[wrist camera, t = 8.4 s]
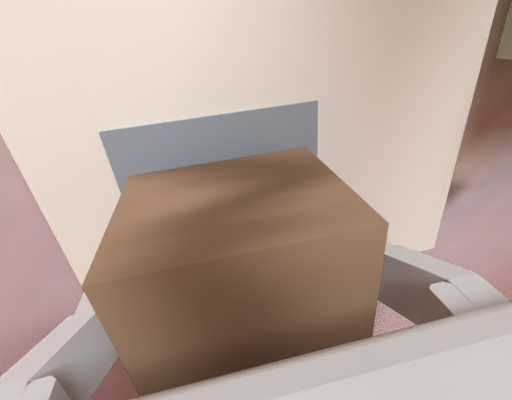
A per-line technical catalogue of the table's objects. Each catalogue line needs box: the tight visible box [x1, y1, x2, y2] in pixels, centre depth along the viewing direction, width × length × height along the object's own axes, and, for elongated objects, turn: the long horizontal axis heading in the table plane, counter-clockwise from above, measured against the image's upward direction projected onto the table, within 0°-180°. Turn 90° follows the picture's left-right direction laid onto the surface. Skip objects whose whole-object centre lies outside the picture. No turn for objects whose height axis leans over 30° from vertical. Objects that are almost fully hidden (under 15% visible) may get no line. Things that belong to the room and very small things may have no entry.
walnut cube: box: [82, 147, 389, 396], centre depth 9 cm, size 6×6×5 cm
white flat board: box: [0, 0, 498, 286], centre depth 12 cm, size 18×14×1 cm
